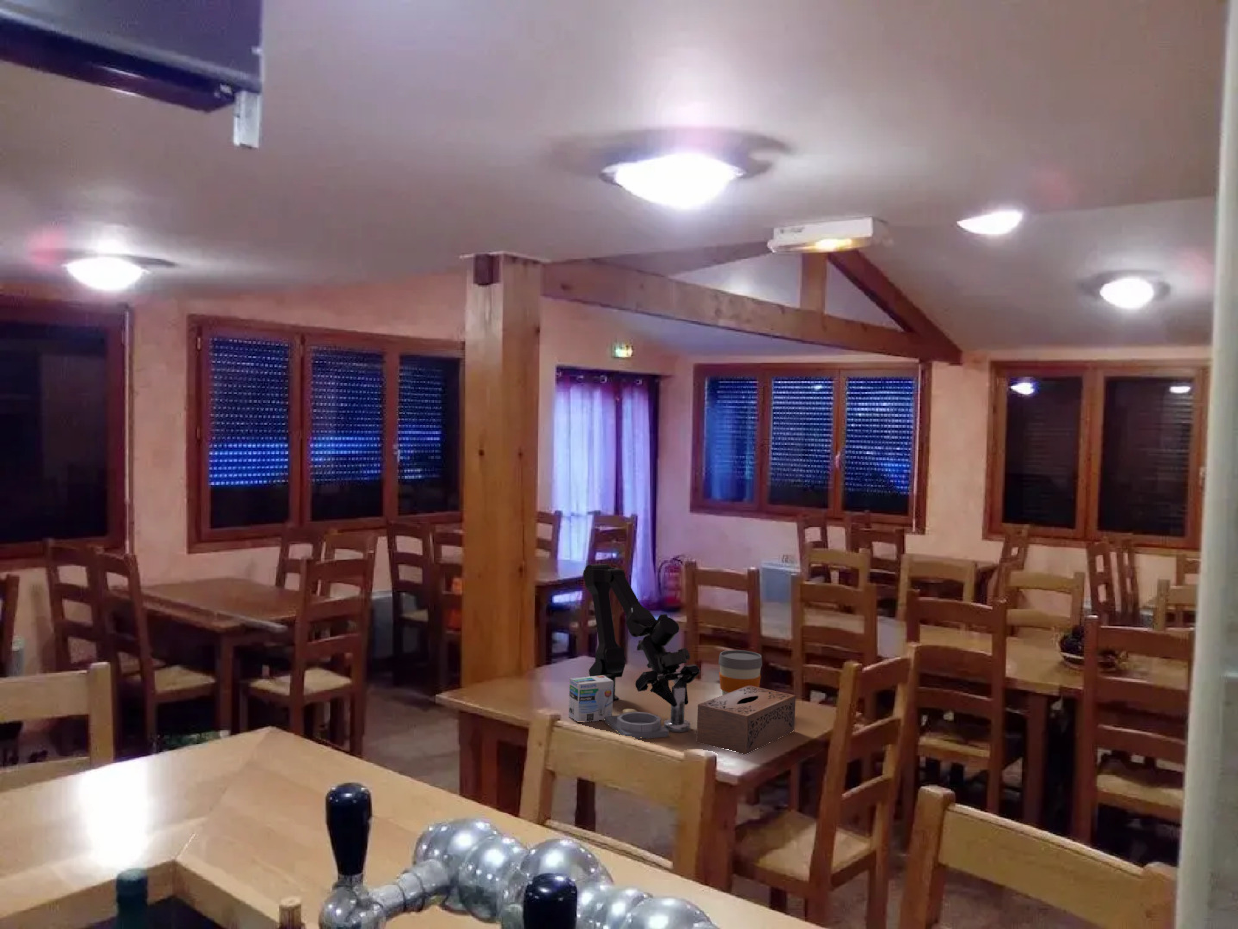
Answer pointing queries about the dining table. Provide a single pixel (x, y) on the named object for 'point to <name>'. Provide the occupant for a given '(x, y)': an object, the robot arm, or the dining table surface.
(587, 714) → the light bulb box
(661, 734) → the carrier plate
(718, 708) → the tissue box cover
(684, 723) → the metal flanged shaft
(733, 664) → the reusable coffee cup
